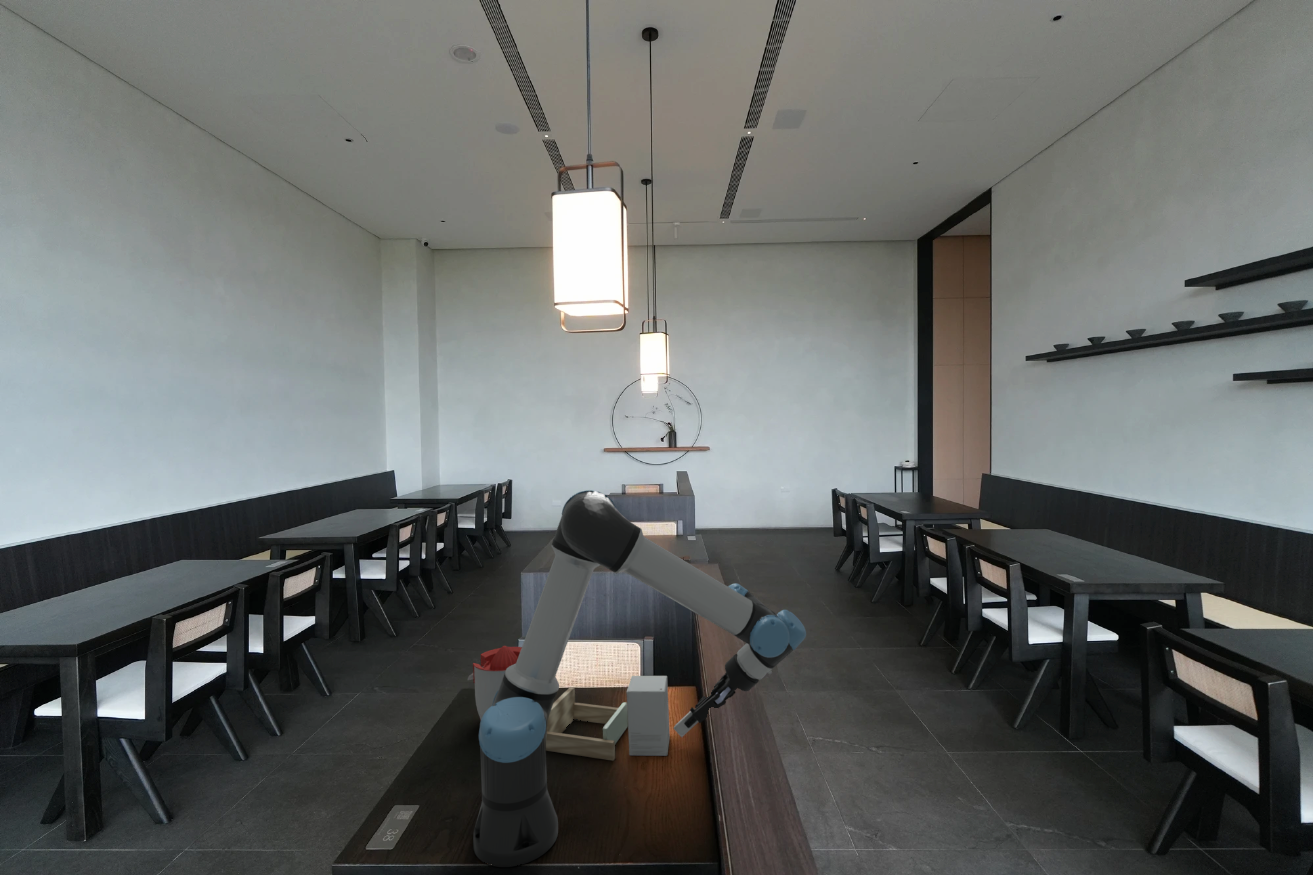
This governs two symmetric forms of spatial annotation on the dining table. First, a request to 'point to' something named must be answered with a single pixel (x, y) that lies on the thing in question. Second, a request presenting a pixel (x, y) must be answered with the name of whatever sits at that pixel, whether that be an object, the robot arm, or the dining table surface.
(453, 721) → the dining table surface
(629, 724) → the supplement box
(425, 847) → the dining table surface
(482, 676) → the citrus juicer
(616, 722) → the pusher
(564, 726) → the pusher lane
